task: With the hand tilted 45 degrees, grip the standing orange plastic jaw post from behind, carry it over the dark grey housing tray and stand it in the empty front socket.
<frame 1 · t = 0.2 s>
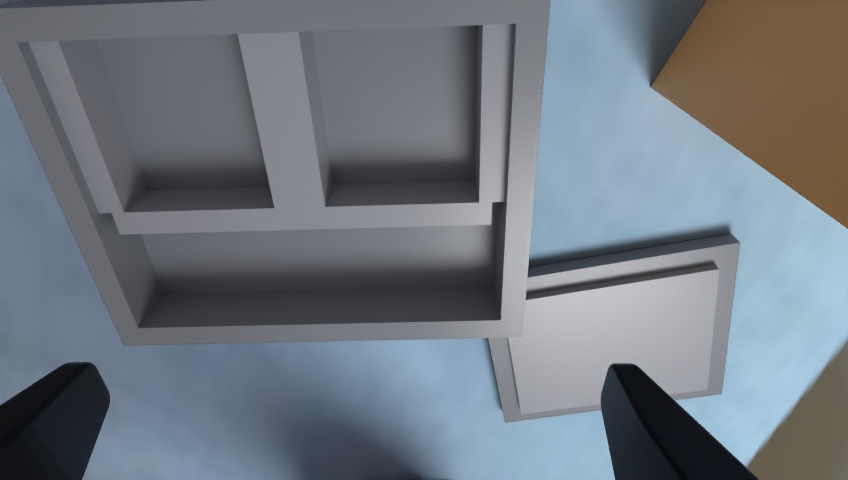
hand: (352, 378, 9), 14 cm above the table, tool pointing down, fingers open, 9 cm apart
lid: (603, 333, 27), on the table
jaw post: (733, 55, 20), on the table
housing: (312, 165, 22), on the table
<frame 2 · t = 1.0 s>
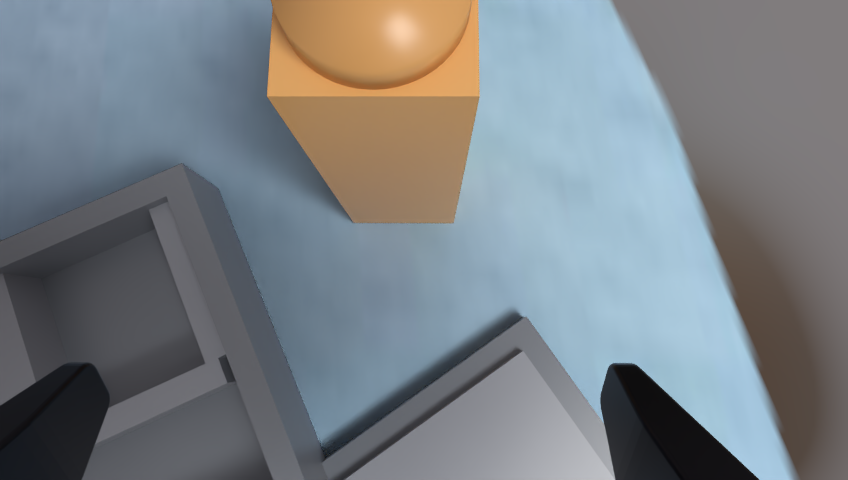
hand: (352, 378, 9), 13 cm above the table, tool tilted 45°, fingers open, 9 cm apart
jaw post: (404, 175, 24), on the table
housing: (77, 419, 22), on the table
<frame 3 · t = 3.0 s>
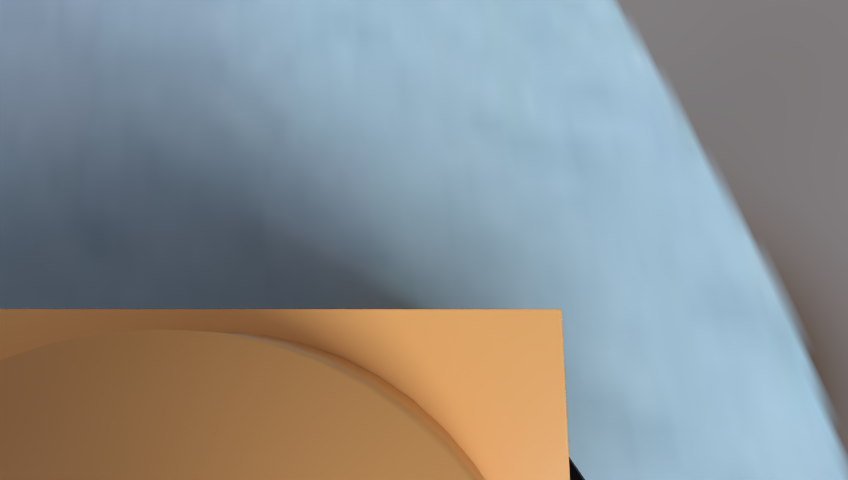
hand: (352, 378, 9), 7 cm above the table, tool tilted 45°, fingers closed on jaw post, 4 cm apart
jaw post: (384, 411, 15), on the table, touching gripper
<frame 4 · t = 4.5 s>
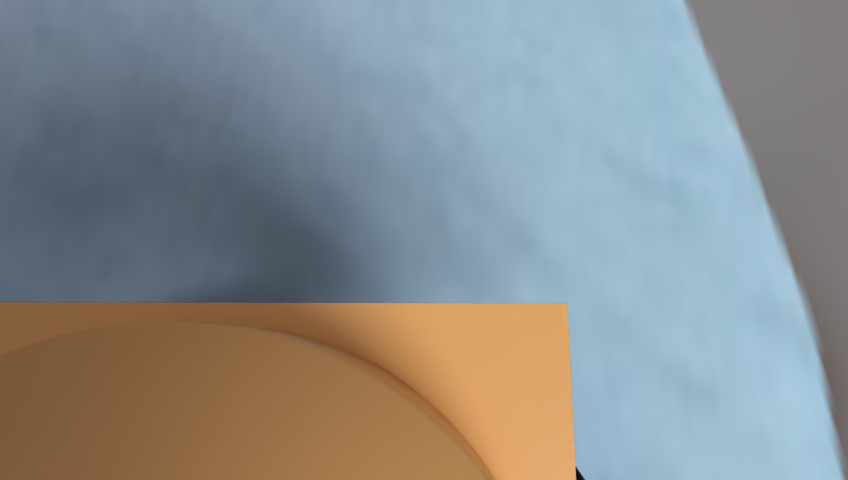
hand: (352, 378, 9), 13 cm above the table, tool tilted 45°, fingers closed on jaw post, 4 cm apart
jaw post: (385, 409, 15), point 7 cm above the table, touching gripper
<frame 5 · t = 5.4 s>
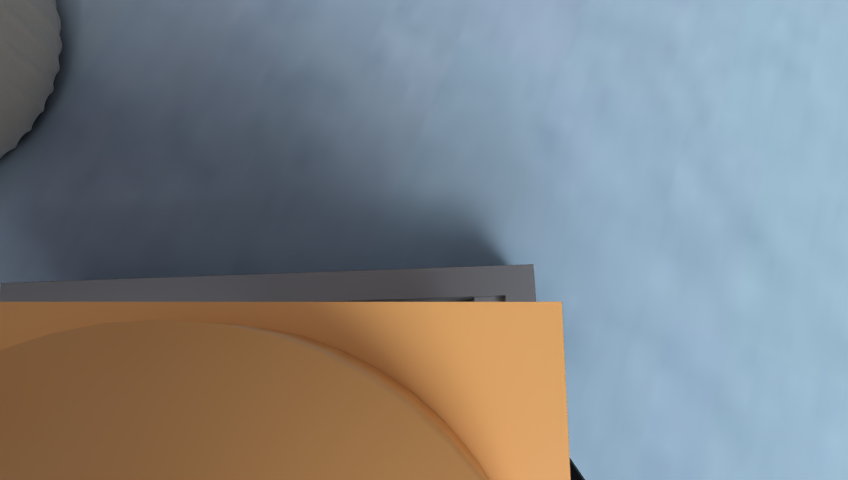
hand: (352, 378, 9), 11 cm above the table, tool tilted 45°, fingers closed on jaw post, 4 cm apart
jaw post: (384, 409, 15), point 5 cm above the table, touching gripper
housing: (291, 468, 19), on the table
when the fingers open (9 cm above the table, at t = 6.1 s): jaw post drops 1 cm, resting on housing.
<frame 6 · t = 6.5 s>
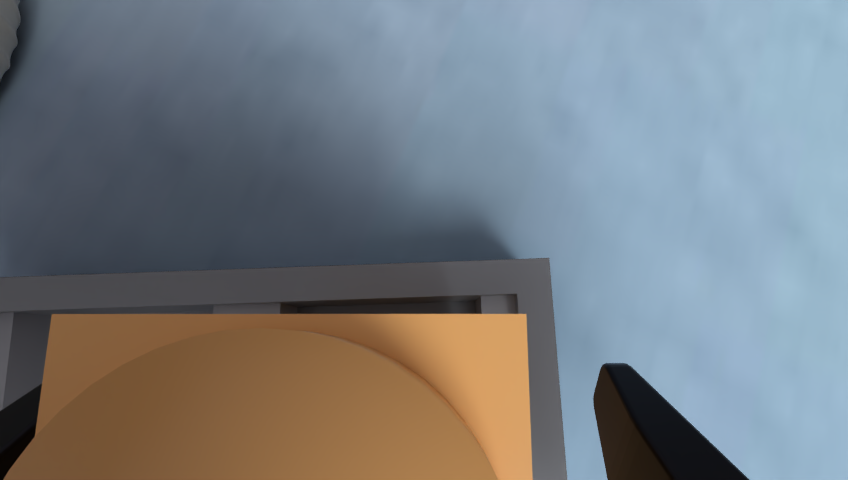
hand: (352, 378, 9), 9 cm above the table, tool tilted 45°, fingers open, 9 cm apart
jaw post: (389, 403, 17), point 1 cm above the table, touching housing
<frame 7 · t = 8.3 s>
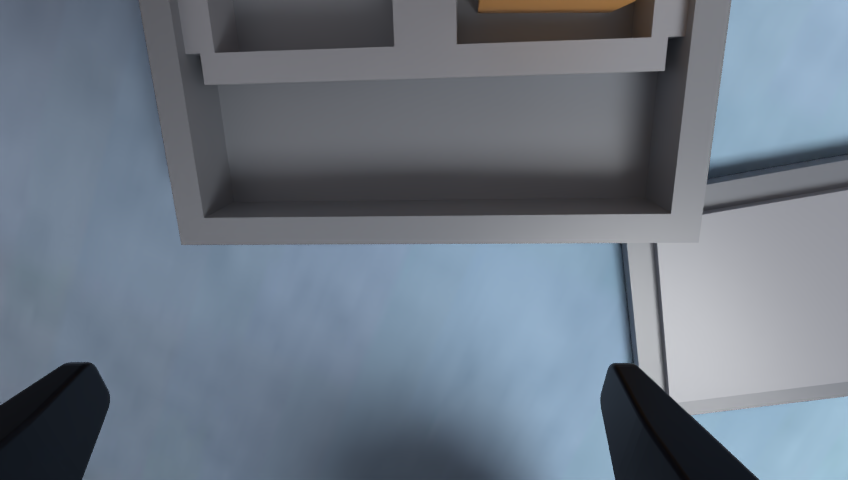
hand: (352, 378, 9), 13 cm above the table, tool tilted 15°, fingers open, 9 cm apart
lid: (779, 286, 21), on the table
housing: (430, 36, 19), on the table
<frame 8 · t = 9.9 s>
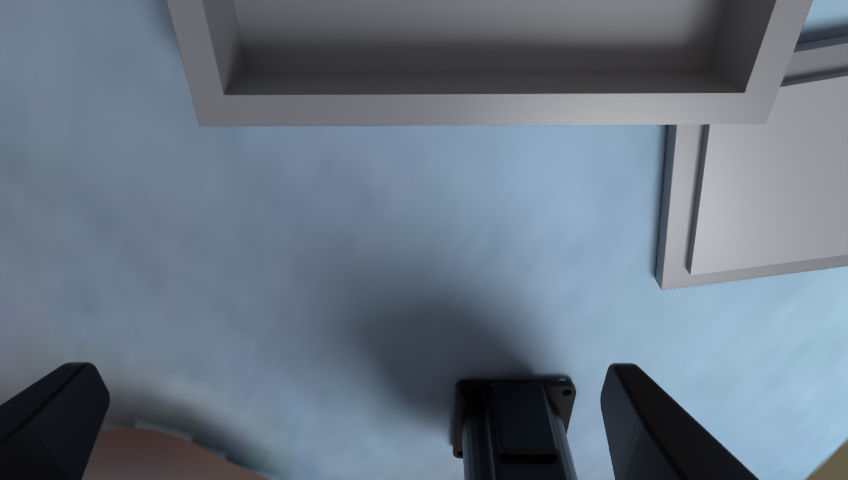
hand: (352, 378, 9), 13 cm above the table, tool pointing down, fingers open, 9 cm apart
lid: (816, 162, 21), on the table
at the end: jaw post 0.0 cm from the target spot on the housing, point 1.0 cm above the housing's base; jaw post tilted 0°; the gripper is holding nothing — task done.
